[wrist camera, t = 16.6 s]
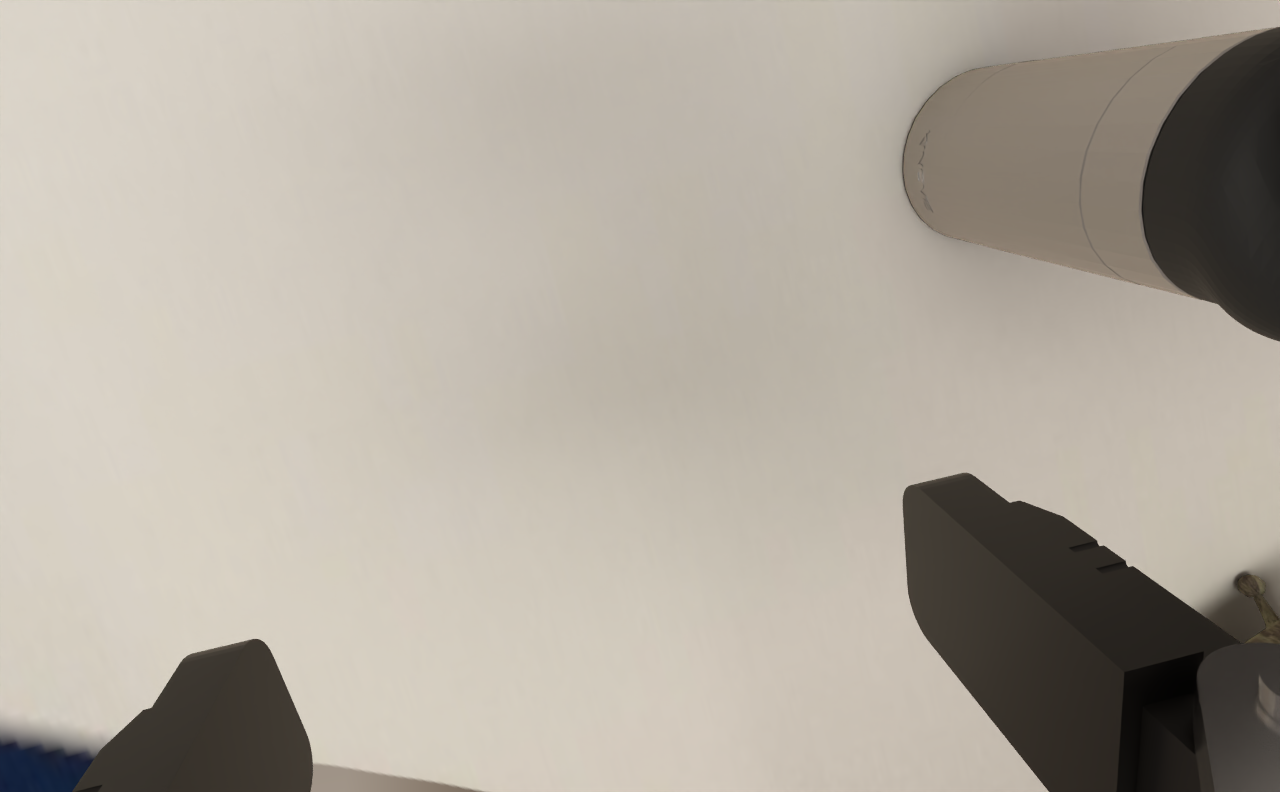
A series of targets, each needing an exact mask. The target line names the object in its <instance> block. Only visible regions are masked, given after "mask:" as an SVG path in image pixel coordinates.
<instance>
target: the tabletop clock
mask: <svg viewBox="0 0 1280 792" xmlns="http://www.w3.org/2000/svg"><path fill="white" fill-rule="evenodd" d="M1265 588H1266V585H1265V583H1264V581H1263V580H1261V579H1260V578H1259V577H1257V576H1255V575H1245V576H1243V577H1241V578H1240V579H1239V580H1238V589H1239V590H1240V591H1241V592H1242V593H1243V594H1244V595H1246V596H1247V597H1254V600H1255V602H1256V604H1257V606H1258V608H1259V610H1260V613H1261V615H1262V617H1263V619H1264V621H1265V625H1266V629H1264V630H1263V631H1261V632H1260V633H1258V634H1257V635H1255V636H1254V637H1252V638H1251V639H1249V640H1248V641H1246V642H1245V643H1275V644H1280V619H1279V618H1278V616H1277V615H1276V614H1275V612H1274V611H1273V610H1272V608H1271V607H1270V606H1269V604H1268V603H1267V602H1266V600H1265V599H1264V597H1263V596H1262V595H1263V594H1264V593H1265Z"/></svg>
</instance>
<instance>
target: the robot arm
mask: <svg viewBox="0 0 1280 792" xmlns="http://www.w3.org/2000/svg"><path fill="white" fill-rule="evenodd" d="M903 174H904V180H905V187H906V191H907V194H908V196H909V199H910V202H911V204H912V206H913V208H914V209H915V211H916V212H917V214H918V215H919V217H920V218H921V219H922V220H923V221H924V222H925V223H926V224H928V225H929V226H930V227H931V228H932V229H934V230H936V231H938V232H939V233H941V234H943V235H945V236H949V237H952V238H956V239H960V240H964V241H968V242H972V243H976V244H980V245H983V246H987V247H990V248H994V249H998V250H1002V251H1006V252H1010V253H1014V254H1018V255H1022V256H1026V257H1030V258H1034V259H1038V260H1042V261H1046V262H1050V263H1054V264H1058V265H1062V266H1066V267H1070V268H1074V269H1078V270H1082V271H1086V272H1090V273H1094V274H1098V275H1102V276H1106V277H1110V278H1114V279H1118V280H1122V281H1126V282H1130V283H1134V284H1138V285H1144V286H1148V287H1152V288H1156V289H1160V290H1164V291H1168V292H1172V293H1176V294H1180V295H1184V296H1188V297H1192V298H1196V299H1200V300H1205V301H1209V302H1212V303H1216V304H1219V305H1220V306H1221V307H1222V308H1223V309H1224V310H1225V311H1226V312H1227V313H1228V314H1229V315H1230V316H1231V317H1232V318H1234V319H1235V320H1236V321H1238V322H1239V323H1241V324H1242V325H1243V326H1245V327H1247V328H1249V329H1251V330H1252V331H1254V332H1256V333H1258V334H1261V335H1263V336H1266V337H1268V338H1271V339H1274V340H1277V341H1280V27H1276V28H1268V29H1261V30H1253V31H1246V32H1239V33H1231V34H1224V35H1217V36H1209V37H1202V38H1198V39H1191V40H1183V41H1176V42H1169V43H1161V44H1154V45H1146V46H1139V47H1132V48H1124V49H1117V50H1109V51H1102V52H1095V53H1087V54H1080V55H1073V56H1065V57H1058V58H1050V59H1043V60H1034V61H1025V62H1018V63H1011V64H1004V65H997V66H990V67H984V68H978V69H973V70H970V71H968V72H966V73H963V74H961V75H958V76H956V77H955V78H953V79H952V80H950V81H949V82H947V83H946V84H945V85H943V86H942V87H940V88H939V89H938V90H937V91H936V92H935V93H934V94H933V96H932V97H931V98H930V99H929V100H928V101H927V102H926V103H925V105H924V106H923V108H922V109H921V111H920V112H919V114H918V115H917V117H916V119H915V121H914V124H913V126H912V128H911V130H910V133H909V135H908V139H907V143H906V148H905V152H904V166H903ZM903 517H904V534H905V551H906V567H907V584H908V594H909V599H910V603H911V606H912V610H913V613H914V615H915V618H916V620H917V622H918V625H919V627H920V629H921V630H922V632H923V634H924V635H925V637H926V638H927V640H928V641H929V642H930V643H931V645H932V646H933V647H934V648H935V650H936V651H937V652H938V653H939V655H940V656H941V657H942V658H943V660H944V661H945V662H946V663H947V665H948V666H949V667H950V668H951V670H952V671H953V672H954V673H955V675H956V676H957V677H958V678H959V680H960V681H961V682H962V683H963V685H964V686H965V687H966V688H967V690H968V691H969V692H970V693H971V695H972V696H973V697H974V698H975V700H976V701H977V702H978V703H979V705H980V706H981V707H982V708H983V710H984V711H985V712H986V713H987V715H988V716H989V717H990V718H991V720H992V721H993V722H994V723H995V725H996V726H997V727H998V728H999V730H1000V731H1001V732H1002V733H1003V735H1004V736H1005V737H1006V738H1007V740H1008V741H1009V742H1010V743H1011V745H1012V746H1013V747H1014V748H1015V750H1016V751H1017V752H1018V753H1019V755H1020V756H1021V757H1022V758H1023V760H1024V761H1025V762H1026V763H1027V765H1028V766H1029V767H1030V768H1031V770H1032V771H1033V772H1034V773H1035V775H1036V776H1037V777H1038V778H1039V780H1040V781H1041V782H1042V783H1043V785H1044V786H1045V787H1046V788H1047V790H1048V791H1049V792H1280V644H1275V643H1240V642H1239V641H1238V640H1236V639H1235V638H1233V637H1232V636H1230V635H1229V634H1228V633H1226V632H1225V631H1223V630H1222V629H1221V628H1219V627H1218V626H1216V625H1215V624H1214V623H1212V622H1211V621H1209V620H1208V619H1207V618H1205V617H1204V616H1202V615H1201V614H1200V613H1198V612H1197V611H1195V610H1194V609H1193V608H1191V607H1190V606H1188V605H1187V604H1185V603H1184V602H1183V601H1181V600H1180V599H1178V598H1177V597H1176V596H1174V595H1173V594H1171V593H1170V592H1169V591H1167V590H1166V589H1164V588H1163V587H1162V586H1160V585H1159V584H1157V583H1156V582H1155V581H1153V580H1152V579H1150V578H1149V577H1148V576H1146V575H1145V574H1143V573H1142V572H1140V571H1139V570H1138V569H1136V568H1135V567H1133V566H1132V567H1128V566H1127V565H1126V561H1125V560H1124V559H1122V558H1121V557H1119V556H1118V555H1117V554H1115V553H1114V552H1112V551H1111V550H1110V549H1108V548H1107V547H1105V546H1099V545H1098V543H1097V540H1095V539H1094V538H1093V537H1091V536H1090V535H1088V534H1087V533H1086V532H1084V531H1083V530H1081V529H1080V528H1079V527H1077V526H1076V525H1074V524H1073V523H1072V522H1070V521H1069V520H1067V519H1066V518H1065V517H1063V516H1060V515H1057V514H1055V513H1052V512H1049V511H1047V510H1044V509H1041V508H1038V507H1036V506H1033V505H1030V504H1028V503H1025V502H1022V501H1016V502H1012V503H1009V502H1008V501H1006V500H1005V499H1004V498H1002V497H1001V496H1000V495H998V494H997V493H996V492H995V491H993V490H992V489H991V488H989V487H988V486H987V485H985V484H984V483H983V482H981V481H980V480H979V479H977V478H976V477H975V476H973V475H972V474H969V473H961V474H957V475H952V476H948V477H944V478H940V479H936V480H931V481H927V482H923V483H919V484H914V485H910V486H908V487H907V488H906V490H905V492H904V495H903ZM312 776H313V762H312V752H311V747H310V743H309V739H308V736H307V734H306V731H305V729H304V727H303V724H302V722H301V720H300V717H299V715H298V713H297V710H296V708H295V706H294V703H293V701H292V699H291V696H290V694H289V692H288V689H287V687H286V685H285V682H284V680H283V678H282V675H281V673H280V671H279V669H278V666H277V664H276V662H275V659H274V657H273V655H272V653H271V651H270V649H269V648H268V646H267V645H266V644H265V643H264V642H263V641H261V640H259V639H252V640H248V641H244V642H239V643H235V644H231V645H227V646H222V647H218V648H214V649H210V650H205V651H201V652H197V653H193V654H190V655H188V656H186V657H185V658H184V659H183V660H182V662H181V663H180V664H179V666H178V667H177V669H176V671H175V672H174V674H173V675H172V677H171V678H170V680H169V682H168V683H167V685H166V686H165V688H164V689H163V691H162V693H161V694H160V696H159V697H158V699H157V700H156V702H155V703H154V705H153V707H152V708H150V709H146V710H143V711H142V712H141V713H140V714H139V715H138V716H136V717H135V718H134V719H133V720H132V721H131V722H130V723H129V724H128V725H127V726H126V727H125V728H124V729H123V730H121V731H120V732H119V733H118V734H117V735H116V736H115V737H114V738H113V739H112V740H111V741H110V742H109V743H107V744H106V745H105V746H104V747H103V748H102V749H101V750H100V752H99V753H98V755H97V756H96V757H95V759H94V760H93V762H92V763H91V765H90V766H89V768H88V769H87V771H86V772H85V774H84V775H83V777H82V778H81V780H80V781H79V783H78V784H77V786H76V787H75V789H74V790H73V791H72V792H310V790H311V785H312Z"/></svg>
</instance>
